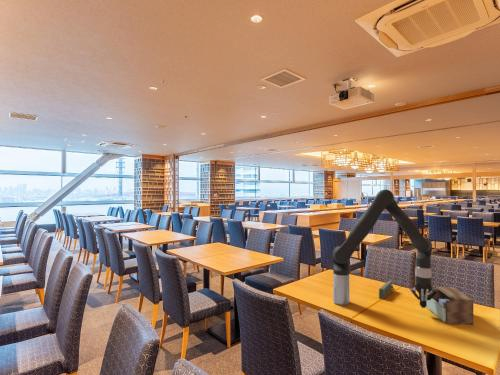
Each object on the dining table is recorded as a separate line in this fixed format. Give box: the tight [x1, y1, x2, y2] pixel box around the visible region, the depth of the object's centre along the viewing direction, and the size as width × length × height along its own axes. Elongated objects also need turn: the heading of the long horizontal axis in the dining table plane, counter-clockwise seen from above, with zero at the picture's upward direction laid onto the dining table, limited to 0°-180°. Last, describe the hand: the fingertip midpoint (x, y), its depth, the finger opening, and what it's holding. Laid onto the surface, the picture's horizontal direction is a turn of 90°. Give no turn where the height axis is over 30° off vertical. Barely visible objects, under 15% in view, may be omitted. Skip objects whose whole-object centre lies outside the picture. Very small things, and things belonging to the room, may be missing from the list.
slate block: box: [439, 299, 451, 309], centre depth 154 cm, size 5×5×6 cm
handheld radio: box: [378, 280, 394, 300], centre depth 188 cm, size 7×3×25 cm
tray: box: [426, 298, 446, 323], centre depth 154 cm, size 12×19×6 cm, turn 171°
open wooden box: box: [432, 286, 475, 326], centre depth 154 cm, size 12×19×13 cm, turn 171°
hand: (423, 307), depth 156 cm, fingers closed
